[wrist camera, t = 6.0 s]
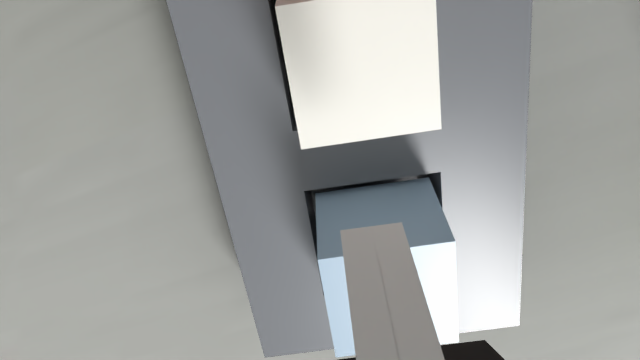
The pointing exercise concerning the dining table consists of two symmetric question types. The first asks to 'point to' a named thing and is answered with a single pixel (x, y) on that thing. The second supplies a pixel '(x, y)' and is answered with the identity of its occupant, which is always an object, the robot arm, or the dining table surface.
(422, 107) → the ivory key
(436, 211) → the slate key
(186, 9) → the console
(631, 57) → the dining table surface
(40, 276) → the dining table surface
